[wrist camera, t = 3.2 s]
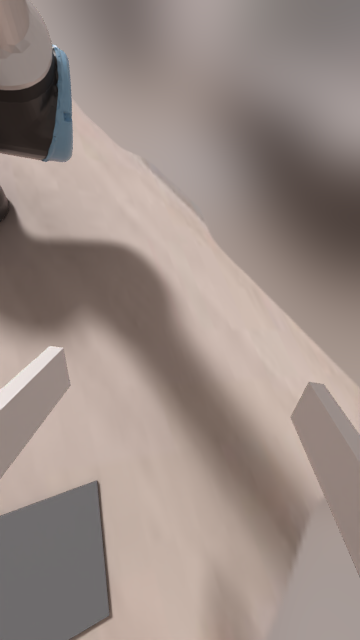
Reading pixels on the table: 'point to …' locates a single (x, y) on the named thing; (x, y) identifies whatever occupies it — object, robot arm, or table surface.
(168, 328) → the table surface
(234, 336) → the table surface
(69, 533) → the mat
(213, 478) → the table surface
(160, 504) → the table surface
